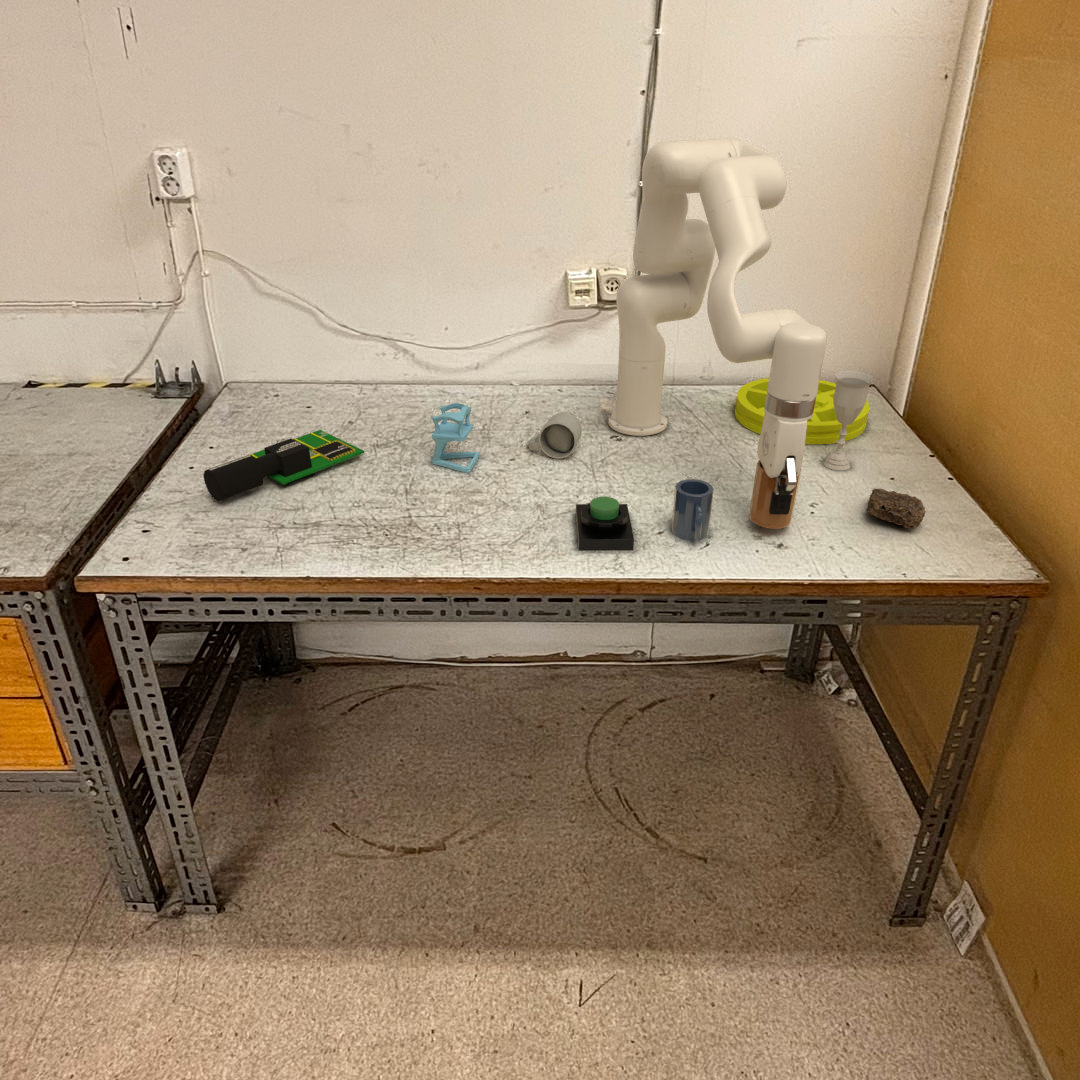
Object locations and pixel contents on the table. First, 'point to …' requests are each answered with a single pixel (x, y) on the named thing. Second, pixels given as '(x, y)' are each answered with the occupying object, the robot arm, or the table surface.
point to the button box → (604, 531)
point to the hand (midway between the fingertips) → (773, 501)
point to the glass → (768, 500)
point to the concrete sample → (896, 508)
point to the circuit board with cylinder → (278, 464)
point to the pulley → (818, 427)
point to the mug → (692, 509)
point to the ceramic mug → (558, 436)
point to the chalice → (847, 410)
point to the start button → (604, 508)
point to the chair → (452, 436)
